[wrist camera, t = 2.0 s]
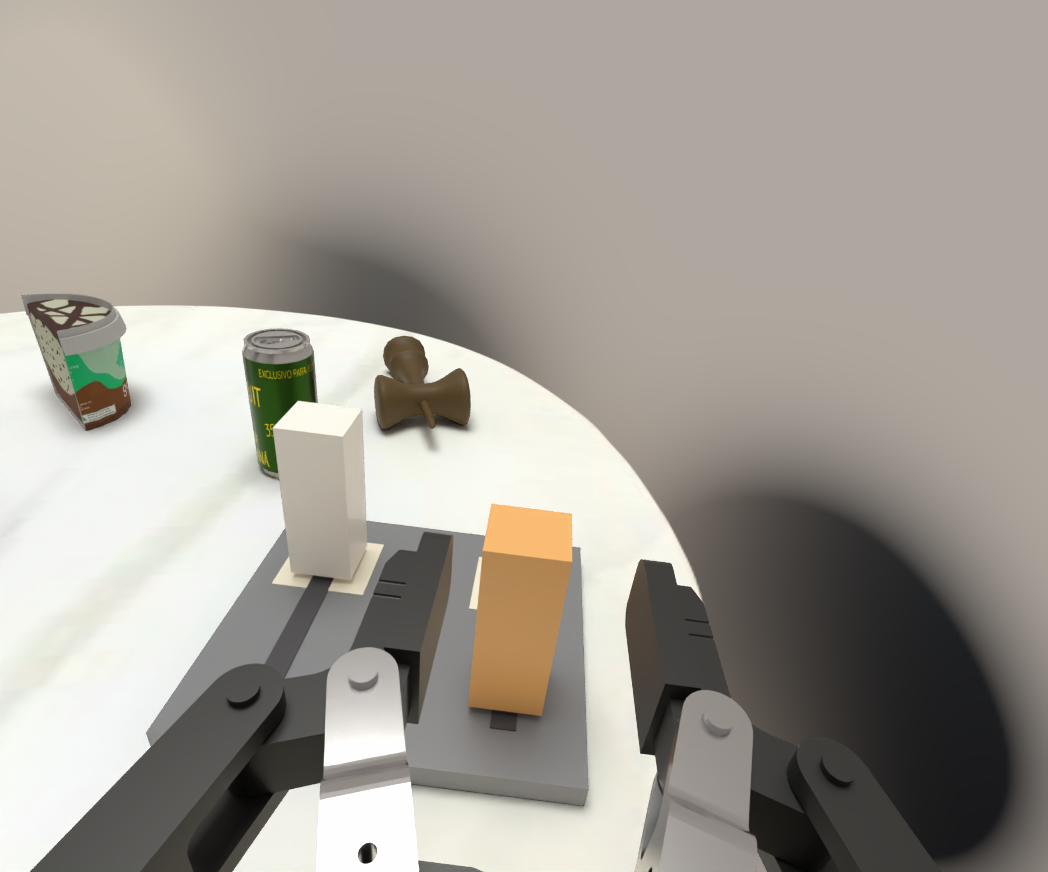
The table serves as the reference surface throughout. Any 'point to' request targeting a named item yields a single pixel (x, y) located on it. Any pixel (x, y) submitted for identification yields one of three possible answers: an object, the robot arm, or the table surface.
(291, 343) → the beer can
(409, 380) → the kendama
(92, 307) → the food container
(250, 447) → the table surface
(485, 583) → the orange tall rectangular block
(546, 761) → the switch board
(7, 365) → the table surface
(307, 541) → the tall cream upright block
